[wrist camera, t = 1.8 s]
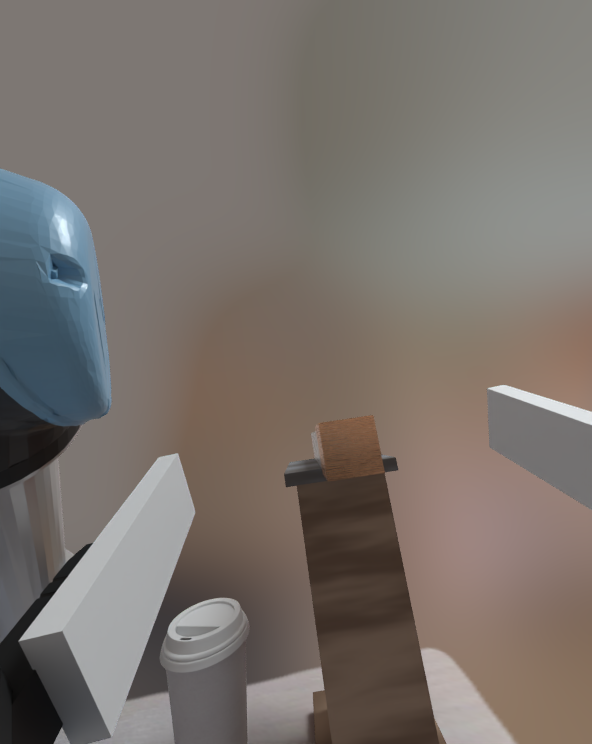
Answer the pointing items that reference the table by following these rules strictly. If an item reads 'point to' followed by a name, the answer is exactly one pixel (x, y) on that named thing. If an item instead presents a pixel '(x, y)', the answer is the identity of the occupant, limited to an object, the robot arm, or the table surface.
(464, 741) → the table surface
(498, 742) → the table surface
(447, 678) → the table surface
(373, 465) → the wood grain block
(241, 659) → the coffee cup
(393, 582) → the post
